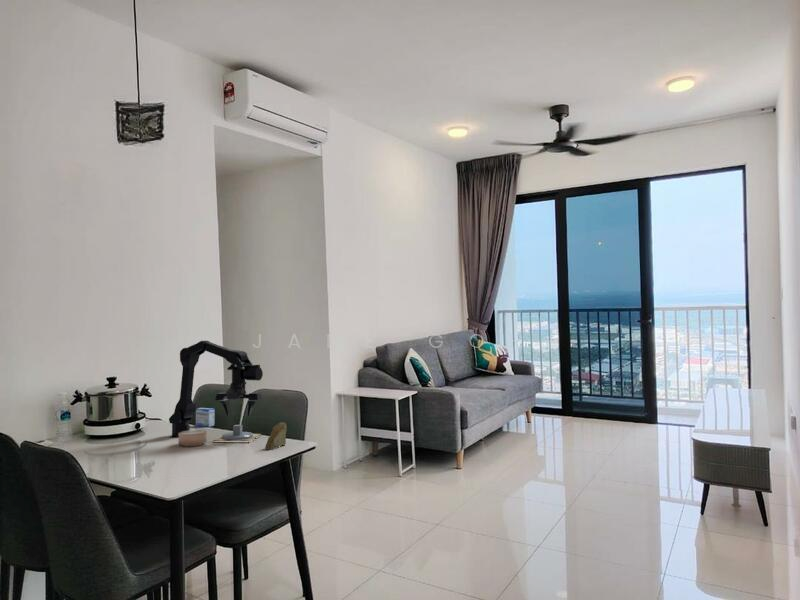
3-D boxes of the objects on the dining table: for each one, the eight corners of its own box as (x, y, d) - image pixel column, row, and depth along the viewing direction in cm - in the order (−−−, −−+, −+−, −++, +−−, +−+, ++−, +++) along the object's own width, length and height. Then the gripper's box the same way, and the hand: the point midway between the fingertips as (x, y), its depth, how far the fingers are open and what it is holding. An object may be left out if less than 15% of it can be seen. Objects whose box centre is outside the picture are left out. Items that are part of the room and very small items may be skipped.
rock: (268, 445, 208) (292, 439, 214) (261, 426, 212) (285, 420, 218) (262, 458, 216) (286, 451, 221) (256, 439, 220) (279, 432, 225)
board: (213, 442, 226) (213, 440, 226) (226, 435, 240) (226, 433, 240) (249, 442, 225) (249, 440, 225) (261, 436, 239) (261, 433, 239)
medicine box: (195, 426, 265) (195, 408, 265) (201, 424, 269) (201, 407, 269) (209, 427, 262) (209, 409, 263) (214, 425, 267) (214, 407, 267)
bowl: (173, 447, 218) (173, 434, 218) (186, 441, 229) (186, 429, 229) (199, 447, 217) (199, 434, 217) (211, 441, 228) (211, 429, 228)
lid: (216, 440, 226) (217, 428, 227) (229, 433, 239) (229, 422, 240) (246, 440, 225) (246, 428, 226) (257, 434, 238) (257, 422, 239)
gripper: (209, 382, 226) (209, 419, 226) (252, 382, 225) (252, 419, 224) (220, 379, 237) (220, 415, 237) (261, 379, 236) (261, 415, 235)
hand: (238, 416), depth 233 cm, fingers open, 9 cm apart
